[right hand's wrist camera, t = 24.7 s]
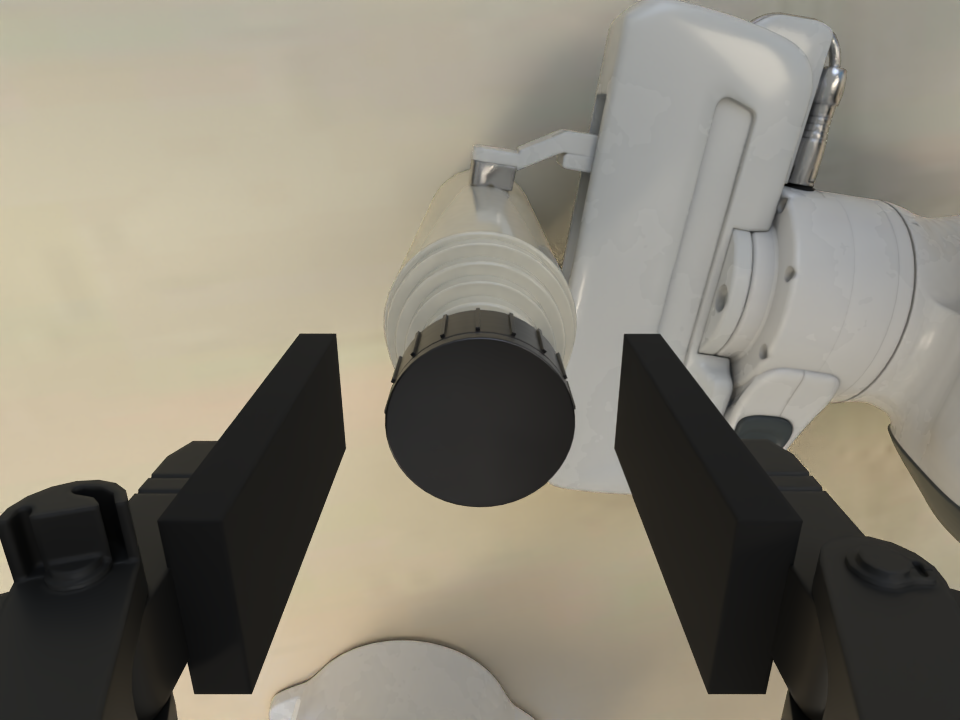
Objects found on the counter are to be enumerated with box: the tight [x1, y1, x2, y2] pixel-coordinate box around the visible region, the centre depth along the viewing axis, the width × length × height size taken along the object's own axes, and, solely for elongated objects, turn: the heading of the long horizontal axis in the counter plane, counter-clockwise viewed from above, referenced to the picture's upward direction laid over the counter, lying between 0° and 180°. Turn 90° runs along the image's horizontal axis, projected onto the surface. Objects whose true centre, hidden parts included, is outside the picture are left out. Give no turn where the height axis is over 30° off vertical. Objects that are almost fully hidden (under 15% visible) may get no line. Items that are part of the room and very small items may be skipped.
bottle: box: [384, 170, 577, 370], centre depth 23 cm, size 5×5×22 cm
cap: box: [385, 308, 576, 507], centre depth 13 cm, size 4×4×2 cm
